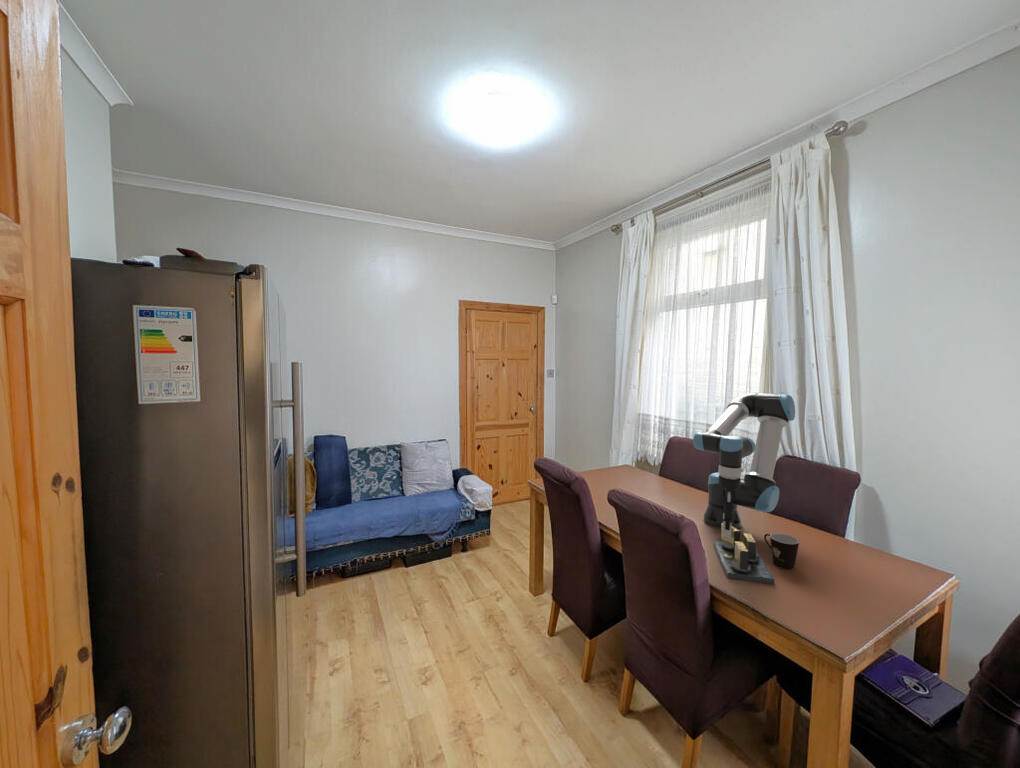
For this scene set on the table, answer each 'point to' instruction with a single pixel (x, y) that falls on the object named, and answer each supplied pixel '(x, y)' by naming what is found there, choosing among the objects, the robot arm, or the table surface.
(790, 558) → the coffee mug
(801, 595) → the table surface
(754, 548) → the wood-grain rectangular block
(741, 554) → the tan bar handle
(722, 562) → the levelling plate
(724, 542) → the tan block-handled knob
